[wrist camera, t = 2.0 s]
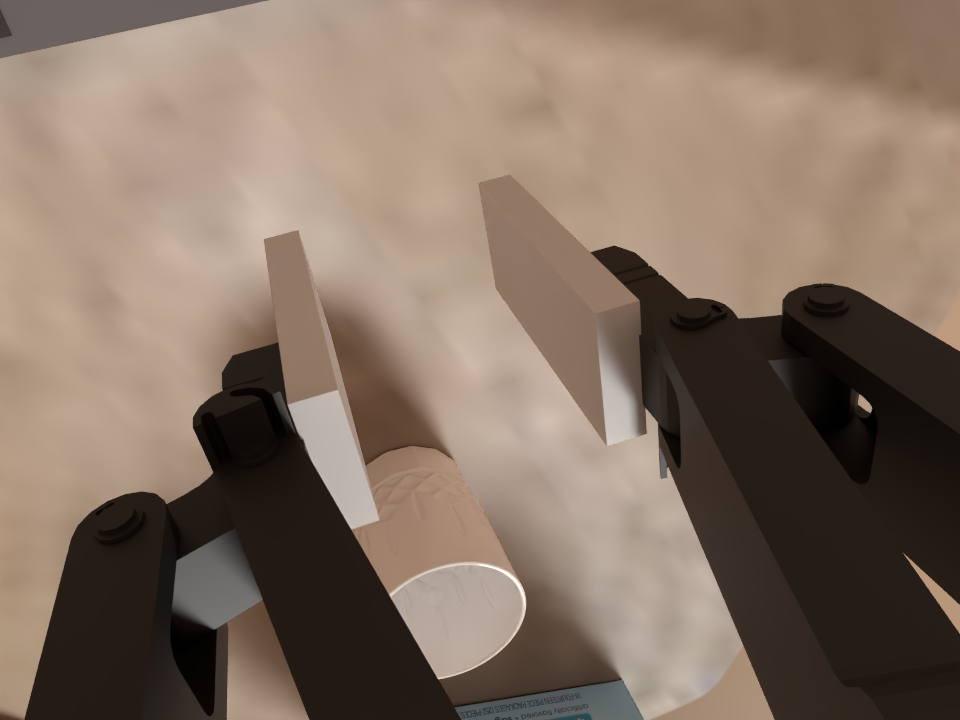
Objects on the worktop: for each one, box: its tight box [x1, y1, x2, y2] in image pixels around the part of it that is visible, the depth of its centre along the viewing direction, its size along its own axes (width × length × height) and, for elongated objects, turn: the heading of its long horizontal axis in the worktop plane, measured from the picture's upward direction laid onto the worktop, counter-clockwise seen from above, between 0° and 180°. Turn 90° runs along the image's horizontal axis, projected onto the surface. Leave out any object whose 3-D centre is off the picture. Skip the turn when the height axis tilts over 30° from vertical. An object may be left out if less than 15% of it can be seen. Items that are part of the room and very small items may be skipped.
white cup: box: [352, 446, 526, 679], centre depth 42 cm, size 8×8×10 cm
